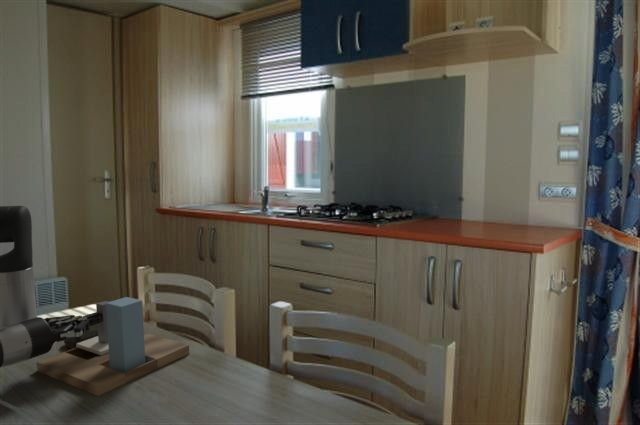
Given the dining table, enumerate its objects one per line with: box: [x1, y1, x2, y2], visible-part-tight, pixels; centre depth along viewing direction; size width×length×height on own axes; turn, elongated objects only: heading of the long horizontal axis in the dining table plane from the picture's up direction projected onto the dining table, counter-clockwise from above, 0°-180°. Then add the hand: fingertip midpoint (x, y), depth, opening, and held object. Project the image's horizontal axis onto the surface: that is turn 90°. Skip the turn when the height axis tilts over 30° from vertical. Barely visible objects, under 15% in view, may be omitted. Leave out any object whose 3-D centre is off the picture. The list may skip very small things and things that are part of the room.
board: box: [36, 332, 190, 397], centre depth 107 cm, size 21×23×2 cm
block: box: [106, 296, 145, 373], centre depth 102 cm, size 5×5×15 cm
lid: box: [76, 300, 109, 355], centre depth 111 cm, size 9×9×10 cm
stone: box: [63, 324, 98, 350], centre depth 124 cm, size 18×11×3 cm, turn 138°
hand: (99, 316), depth 109 cm, fingers closed
